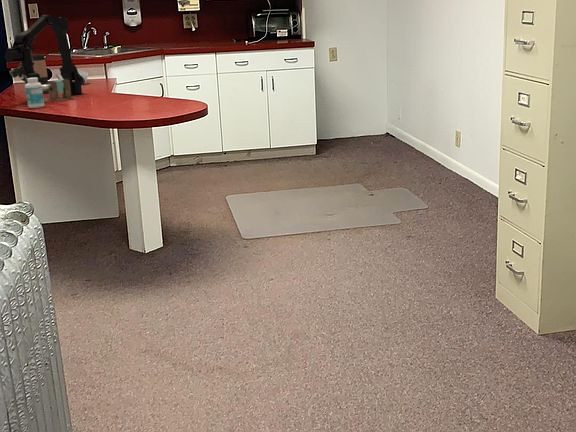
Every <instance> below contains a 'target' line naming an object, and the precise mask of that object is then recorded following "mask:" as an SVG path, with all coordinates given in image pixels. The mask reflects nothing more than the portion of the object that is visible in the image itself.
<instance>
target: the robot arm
mask: <svg viewBox="0 0 576 432" xmlns="http://www.w3.org/2000/svg"><path fill="white" fill-rule="evenodd" d="M47 26H49V27H51V30H52V32H53V33H54V35H55V36H56V39H57V40H56V41H57V44H58V49H59V53H60V57H61V62H62V65H61V67H59V72H60V75H61V76H62V78H63V79H64V80H66V81H68V80H69V81H70V88H71V96H78V95H79V96H81V95H84V93H83V91H82V84H83V77H82V76H81V75H80V74H79V73H78V70H77V69H78V68H77V66H76V65H75V64H74V63H73V58H72V52H71V49H70V43H69V40H68V31H69V22H68V19H67V18H66V17H64V16H54V15H50V14H42V15H41V16H40V18H38V19H37V20H36V21H35V22H34V23H33V24H32V25H30V26H29V28H28V29H25V30H24V31H22V32H19V33H18V34H16V35H15V37H14V41H13V43H12V46H11V47H8V48H6V52H5V53H4V58H5V59H4V60H5V61H6V62H7V63H8V64H13V63H19V62H20V63H19V64H18V65H19V66H17V67H14V68H13V69H10V70H9V74H10V76H11V78H14V79H16V78H20V80H21V81H23V82H24V85H26V84H27V83H28V81H27V78H38V79H40V74H38V73H36V72H35V71H34V66H33V65H34V62H33V59H32V56H33V55H32V51H35V48H34V47H32V44H33V43H34V42H35V38H36V36H38V34H40V32H42V30H44V29H45V28H46V27H47ZM74 80H75V81H74Z"/></svg>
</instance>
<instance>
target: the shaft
mask: <svg viewBox="0 0 576 432" xmlns="http://www.w3.org/2000/svg"><path fill="white" fill-rule="evenodd" d="M62 84H63V89H65V87H64V83H62ZM25 85H26V84H24V86H23V89H24V93H25V94H26V89H25ZM42 90H43V91H47V90H52V89H51V84H45V85H42Z"/></svg>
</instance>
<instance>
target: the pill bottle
mask: <svg viewBox="0 0 576 432" xmlns="http://www.w3.org/2000/svg"><path fill="white" fill-rule="evenodd" d="M27 81H28V83H27V84H24V85H25V89H26V93H25V96H26V101H27V107H28V108H30V109H38V108H43V107H45V102H44V99H45V98H44V94H43V90H42V84H41V83H39V82H38V78H27Z"/></svg>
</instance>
